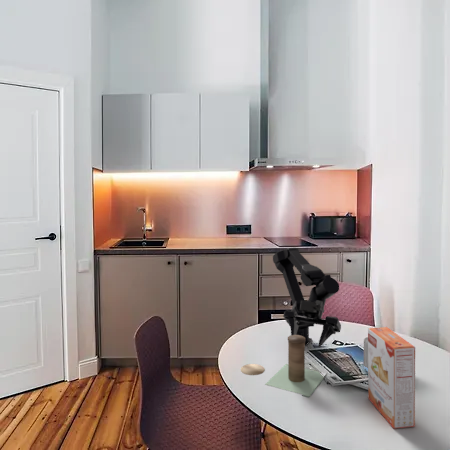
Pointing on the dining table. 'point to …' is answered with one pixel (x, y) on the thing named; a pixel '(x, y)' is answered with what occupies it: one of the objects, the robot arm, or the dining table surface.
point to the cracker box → (391, 376)
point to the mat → (302, 387)
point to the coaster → (252, 369)
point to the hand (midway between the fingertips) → (305, 344)
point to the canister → (296, 358)
